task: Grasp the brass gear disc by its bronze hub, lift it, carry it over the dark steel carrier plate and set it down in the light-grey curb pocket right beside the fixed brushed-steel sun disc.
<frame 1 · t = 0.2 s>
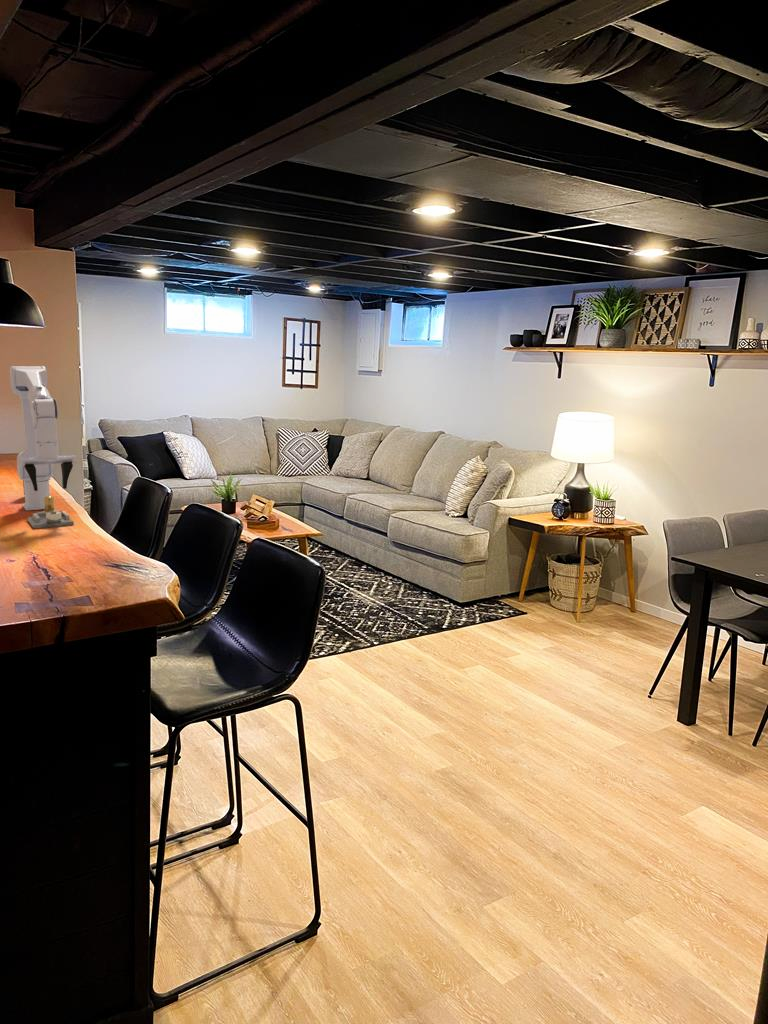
hand: (50, 489, 218), 10 cm above the table, fingers open, 7 cm apart
carrier: (50, 522, 220), on the table
beverage can: (34, 497, 260), on the table
planet gear: (50, 516, 228), on the table
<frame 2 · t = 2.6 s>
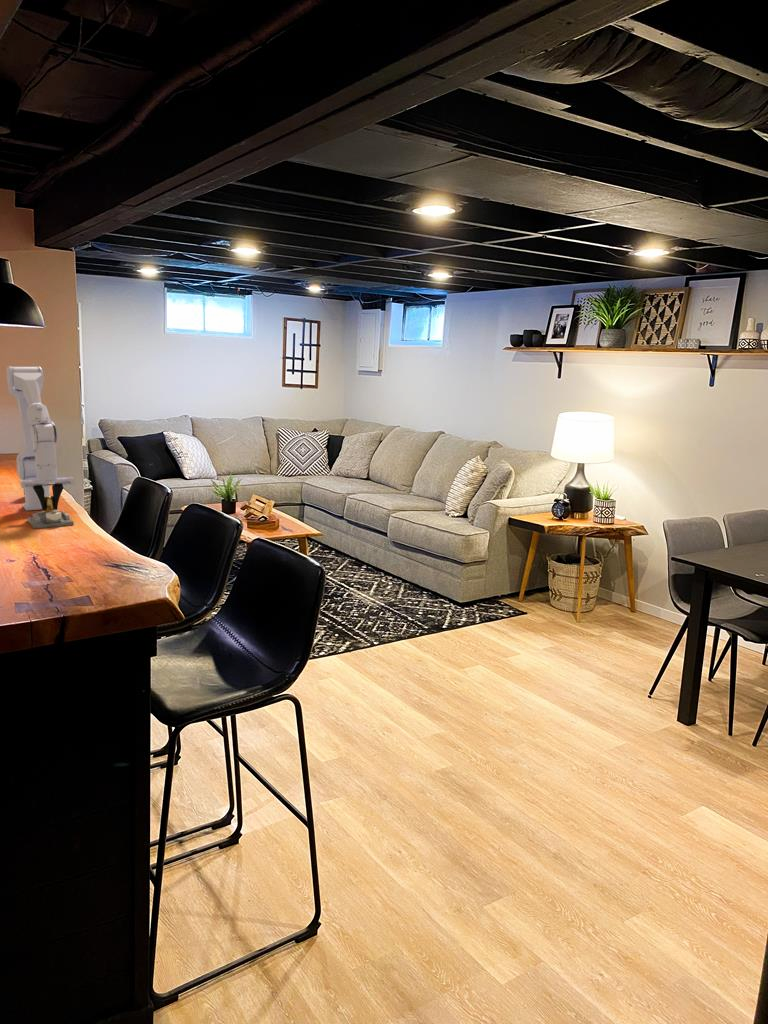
hand: (49, 509, 228), 2 cm above the table, fingers closed on planet gear, 3 cm apart
planet gear: (50, 516, 228), on the table, touching gripper
everything else where it was.
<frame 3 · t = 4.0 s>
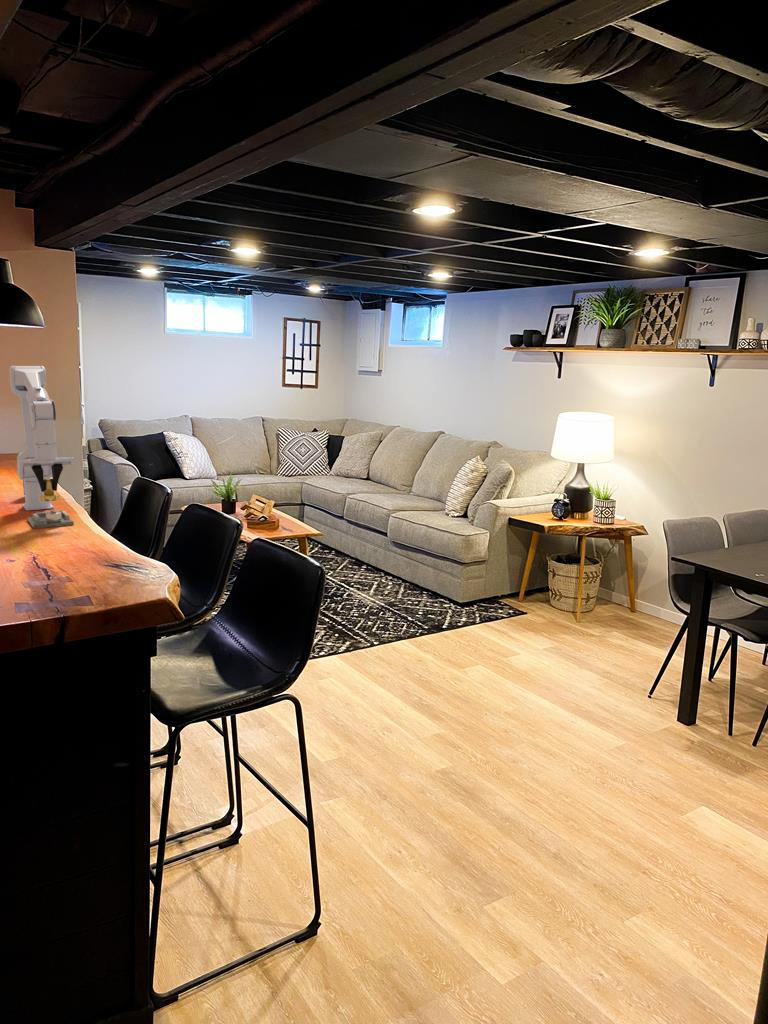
hand: (48, 490, 219), 9 cm above the table, fingers closed on planet gear, 3 cm apart
planet gear: (49, 499, 220), point 6 cm above the table, touching gripper
everything else where it was.
when the fingers open (4 cm above the table, at t = 5.5 s): planet gear stays where it is, resting on carrier.
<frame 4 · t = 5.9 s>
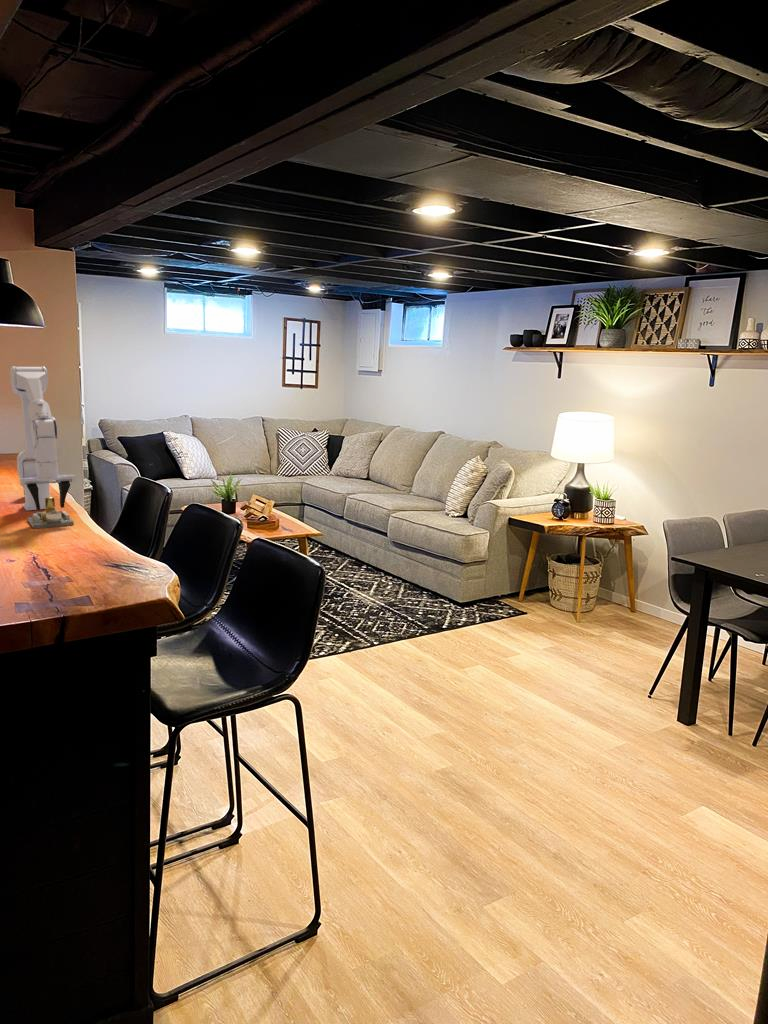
hand: (50, 508, 220), 4 cm above the table, fingers open, 6 cm apart
planet gear: (50, 518, 221), point 1 cm above the table, touching carrier
everything else where it was.
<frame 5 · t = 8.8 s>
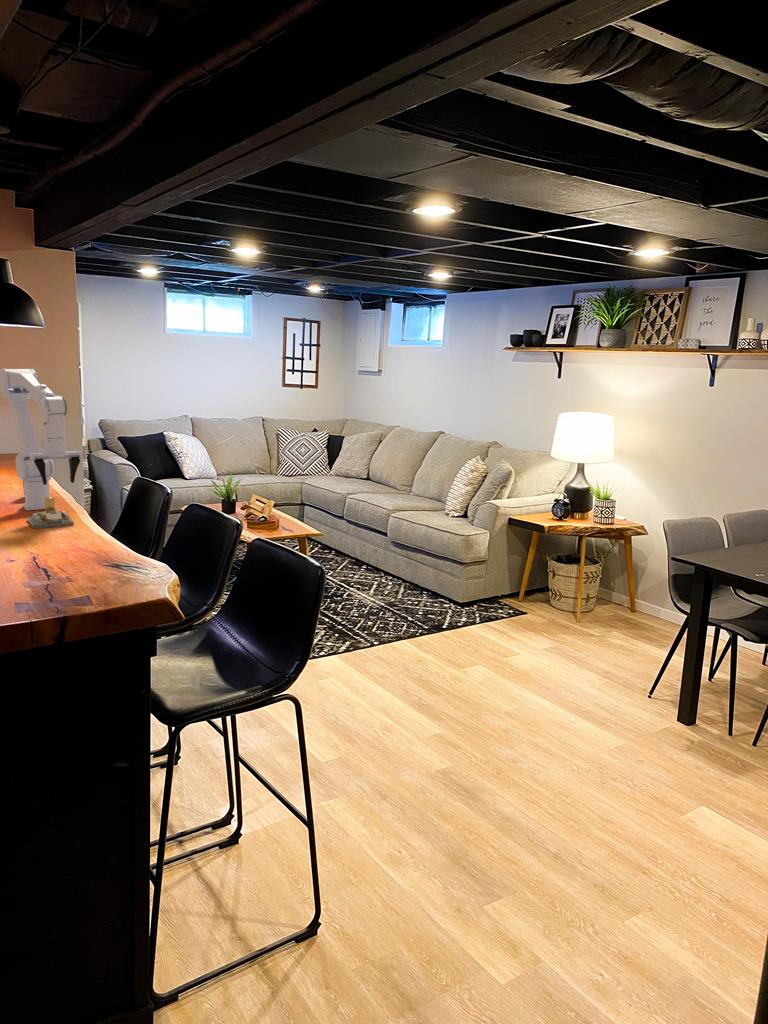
hand: (58, 483, 228), 10 cm above the table, fingers open, 7 cm apart
nothing on the table moved.
at the end: planet gear 0.2 cm from the target spot, point 1.0 cm above the table; planet gear tilted 0°; the gripper is holding nothing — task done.
